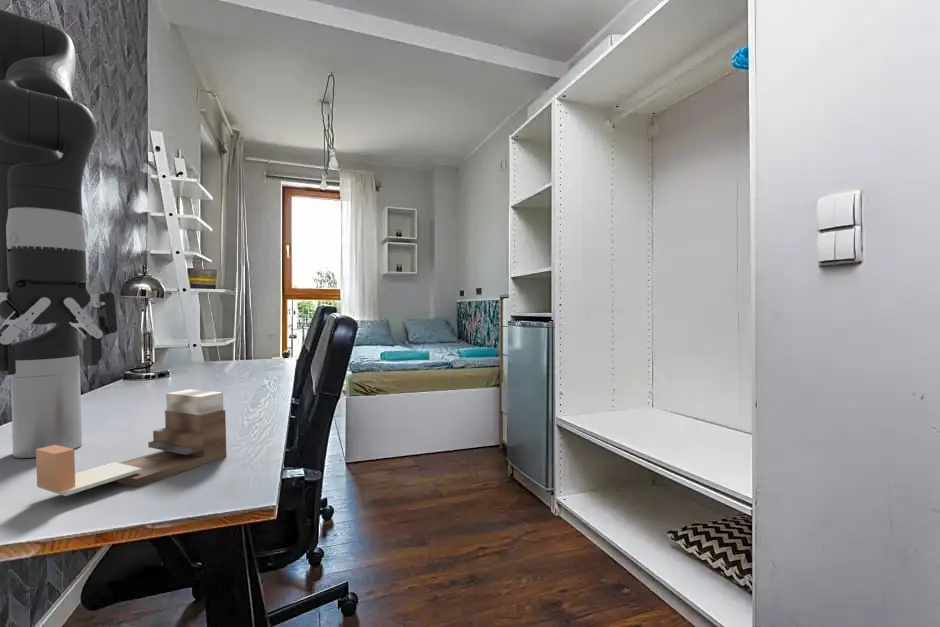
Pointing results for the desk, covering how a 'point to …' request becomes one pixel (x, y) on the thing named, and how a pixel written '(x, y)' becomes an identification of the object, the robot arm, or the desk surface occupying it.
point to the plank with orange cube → (73, 471)
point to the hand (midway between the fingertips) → (51, 369)
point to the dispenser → (183, 437)
